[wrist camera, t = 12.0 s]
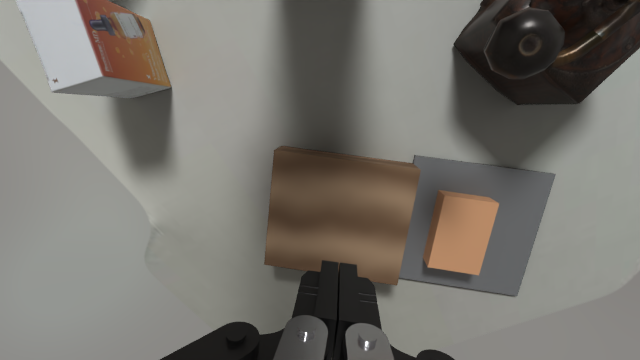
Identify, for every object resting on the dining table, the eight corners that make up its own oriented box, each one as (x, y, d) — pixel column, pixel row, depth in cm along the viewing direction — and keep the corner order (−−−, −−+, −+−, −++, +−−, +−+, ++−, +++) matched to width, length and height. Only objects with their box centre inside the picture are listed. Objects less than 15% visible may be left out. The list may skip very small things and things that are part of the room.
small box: (173, 88, 36) (104, 79, 26) (132, 99, 37) (50, 94, 27) (150, 18, 35) (68, -21, 24) (108, 31, 35) (11, -2, 25)
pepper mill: (522, -46, 30) (766, -263, 13) (596, 30, 31) (919, -75, 14) (412, 77, 34) (483, 42, 16) (481, 142, 35) (620, 174, 17)
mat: (414, 155, 35) (415, 155, 35) (553, 173, 35) (555, 174, 34) (390, 274, 39) (391, 276, 39) (515, 294, 38) (517, 296, 38)
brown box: (281, 145, 37) (274, 149, 33) (412, 163, 36) (420, 169, 32) (272, 249, 40) (264, 264, 36) (392, 267, 39) (397, 285, 35)
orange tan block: (499, 203, 33) (489, 197, 35) (444, 195, 33) (438, 189, 36) (478, 275, 35) (470, 265, 38) (427, 267, 36) (422, 257, 38)
